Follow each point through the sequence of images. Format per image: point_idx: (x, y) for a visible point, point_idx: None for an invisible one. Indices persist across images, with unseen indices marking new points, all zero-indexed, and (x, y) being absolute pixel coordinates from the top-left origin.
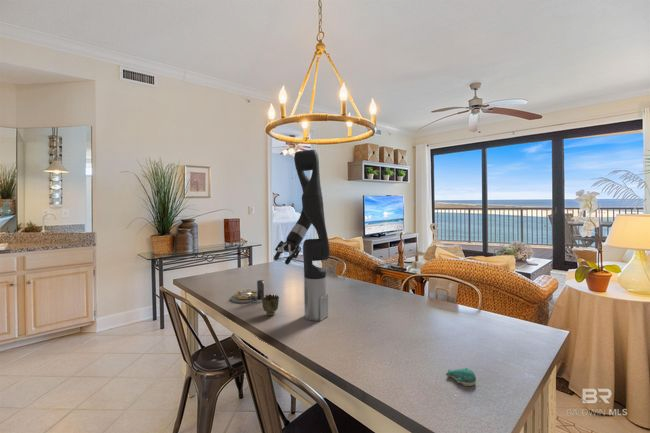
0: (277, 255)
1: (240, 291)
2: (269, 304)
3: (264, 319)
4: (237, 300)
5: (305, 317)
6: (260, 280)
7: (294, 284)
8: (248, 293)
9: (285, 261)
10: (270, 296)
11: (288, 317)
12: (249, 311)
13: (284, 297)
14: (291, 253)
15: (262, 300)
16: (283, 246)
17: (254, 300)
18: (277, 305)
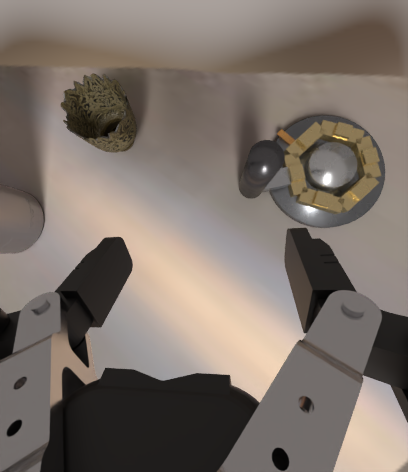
0: (298, 276)
1: (365, 156)
2: (82, 98)
3: None
4: (306, 125)
5: (23, 191)
6: (273, 161)
7: (350, 440)
8: (316, 166)
9: (108, 241)
10: (120, 126)
11: (69, 165)
12: (196, 113)
13: (227, 279)
14: (21, 343)
15: (104, 80)
16: (265, 452)
17: None
18: (84, 135)
